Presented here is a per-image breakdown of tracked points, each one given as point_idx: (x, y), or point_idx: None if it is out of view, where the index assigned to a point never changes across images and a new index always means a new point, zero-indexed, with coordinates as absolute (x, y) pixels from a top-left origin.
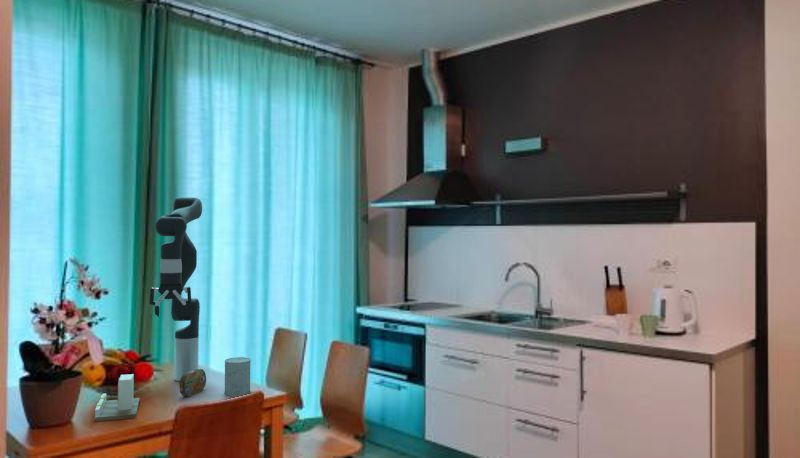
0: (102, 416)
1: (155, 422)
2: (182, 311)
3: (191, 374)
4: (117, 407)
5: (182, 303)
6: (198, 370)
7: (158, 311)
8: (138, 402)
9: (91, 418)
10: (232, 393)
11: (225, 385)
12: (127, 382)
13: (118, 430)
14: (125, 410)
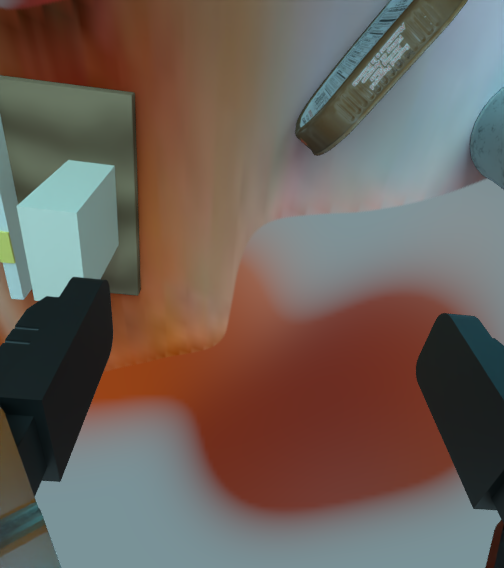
0: None
1: (194, 343)
2: (438, 416)
3: (370, 98)
4: None
5: (495, 552)
6: (431, 33)
7: (83, 399)
8: (133, 168)
9: None
10: (487, 176)
11: (489, 149)
12: None
13: (109, 363)
14: None
